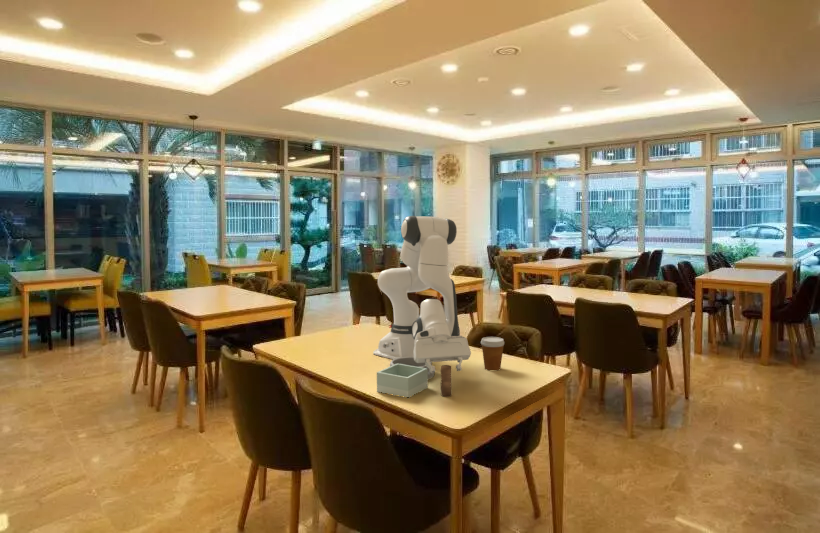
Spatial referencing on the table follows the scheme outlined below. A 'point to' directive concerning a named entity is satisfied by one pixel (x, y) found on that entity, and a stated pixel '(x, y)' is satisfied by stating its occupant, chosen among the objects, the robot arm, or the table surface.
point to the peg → (446, 381)
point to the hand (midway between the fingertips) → (446, 371)
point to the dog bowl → (411, 364)
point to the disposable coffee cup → (492, 352)
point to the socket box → (402, 380)
